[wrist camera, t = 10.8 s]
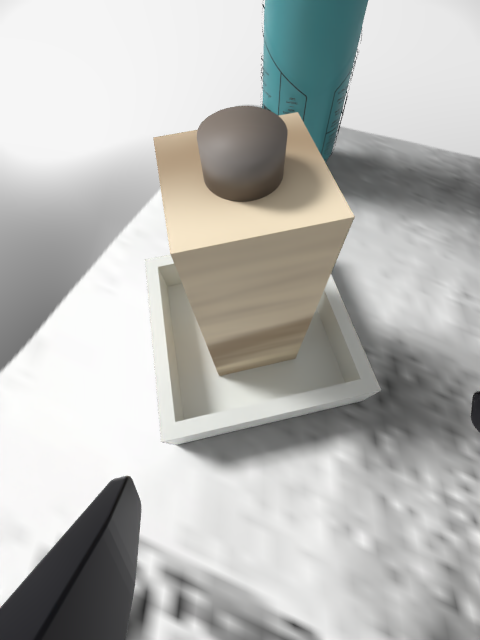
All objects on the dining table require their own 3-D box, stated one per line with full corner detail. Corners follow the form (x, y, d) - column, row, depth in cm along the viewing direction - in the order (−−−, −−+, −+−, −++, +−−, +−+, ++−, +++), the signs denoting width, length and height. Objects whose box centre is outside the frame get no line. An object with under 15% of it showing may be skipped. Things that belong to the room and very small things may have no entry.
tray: (362, 401, 18) (381, 390, 15) (175, 445, 17) (160, 442, 14) (303, 254, 23) (310, 227, 20) (157, 284, 22) (144, 259, 20)
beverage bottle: (343, 173, 27) (528, -415, 9) (281, 200, 26) (350, -416, 8) (302, 136, 29) (382, -376, 11) (245, 159, 28) (232, -372, 10)
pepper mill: (295, 358, 19) (370, 177, 7) (219, 376, 18) (156, 219, 6) (274, 293, 21) (303, 69, 9) (205, 308, 20) (140, 96, 9)
